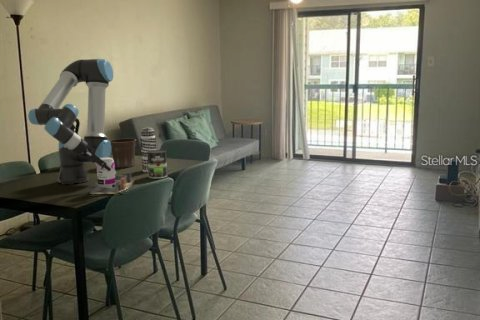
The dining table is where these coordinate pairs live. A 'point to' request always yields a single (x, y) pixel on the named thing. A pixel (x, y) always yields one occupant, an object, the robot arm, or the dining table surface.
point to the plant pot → (123, 152)
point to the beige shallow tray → (121, 185)
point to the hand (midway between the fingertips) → (110, 171)
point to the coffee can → (157, 164)
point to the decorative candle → (147, 145)
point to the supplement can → (106, 174)
